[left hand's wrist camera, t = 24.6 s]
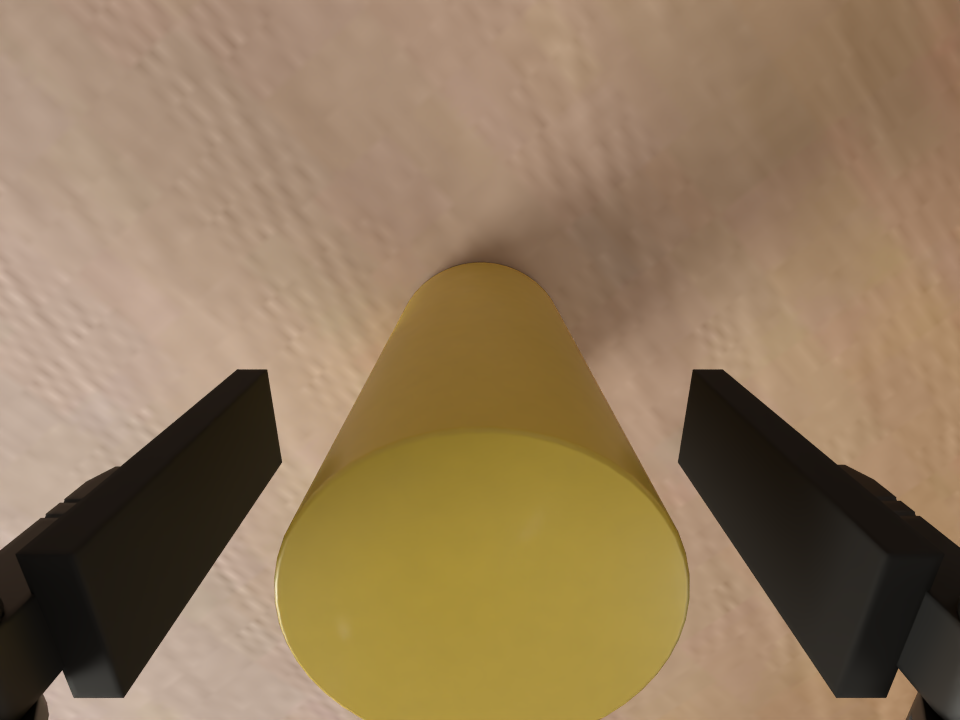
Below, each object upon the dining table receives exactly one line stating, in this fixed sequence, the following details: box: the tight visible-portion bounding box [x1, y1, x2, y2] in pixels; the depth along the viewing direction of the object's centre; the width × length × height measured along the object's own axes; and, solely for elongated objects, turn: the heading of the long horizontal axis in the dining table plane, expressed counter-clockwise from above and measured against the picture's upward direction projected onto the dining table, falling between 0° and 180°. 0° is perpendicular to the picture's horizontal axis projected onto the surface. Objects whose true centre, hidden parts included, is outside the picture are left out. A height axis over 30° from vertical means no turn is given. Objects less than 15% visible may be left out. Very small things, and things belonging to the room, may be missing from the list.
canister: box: [274, 262, 689, 720], centre depth 13 cm, size 6×6×12 cm
